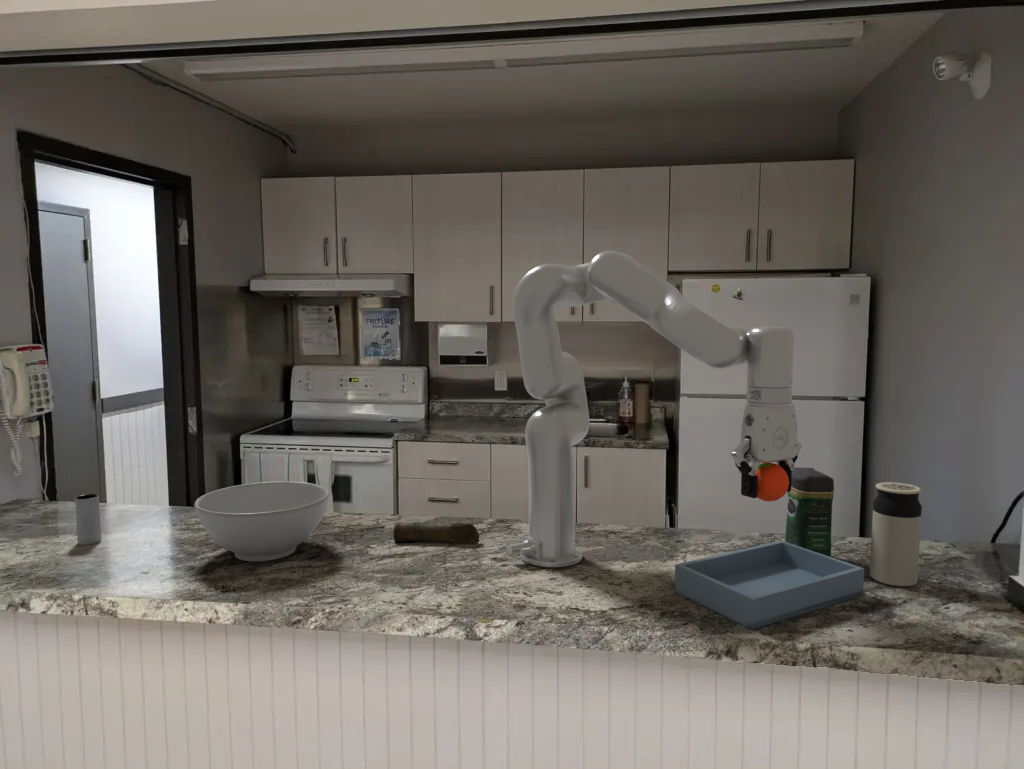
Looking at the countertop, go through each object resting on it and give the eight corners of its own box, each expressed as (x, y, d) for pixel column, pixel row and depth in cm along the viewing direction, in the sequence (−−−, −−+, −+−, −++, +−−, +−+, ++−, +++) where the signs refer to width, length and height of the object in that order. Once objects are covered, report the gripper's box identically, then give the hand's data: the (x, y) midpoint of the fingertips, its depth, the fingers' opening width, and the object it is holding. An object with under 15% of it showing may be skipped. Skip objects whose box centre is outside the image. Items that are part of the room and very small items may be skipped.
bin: (752, 629, 113) (753, 599, 112) (674, 591, 128) (675, 564, 128) (862, 595, 126) (864, 568, 126) (780, 564, 142) (781, 540, 141)
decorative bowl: (326, 527, 167) (325, 477, 166) (335, 565, 142) (333, 506, 140) (203, 539, 158) (201, 486, 157) (189, 581, 133) (186, 519, 132)
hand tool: (391, 544, 155) (391, 524, 155) (397, 538, 159) (397, 518, 159) (476, 548, 153) (476, 528, 152) (479, 542, 157) (479, 522, 156)
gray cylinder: (105, 540, 157) (102, 495, 156) (84, 546, 154) (81, 500, 152) (94, 537, 160) (92, 492, 159) (73, 542, 156) (70, 497, 155)
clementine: (765, 509, 122) (767, 468, 121) (734, 499, 128) (736, 460, 127) (796, 502, 126) (798, 463, 125) (765, 493, 132) (767, 456, 131)
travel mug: (922, 589, 129) (927, 493, 127) (874, 585, 131) (878, 490, 129) (911, 574, 136) (916, 483, 135) (866, 570, 139) (870, 480, 137)
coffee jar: (836, 566, 141) (841, 475, 139) (797, 566, 141) (800, 475, 139) (816, 550, 150) (820, 464, 149) (779, 550, 151) (782, 464, 149)
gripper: (751, 401, 117) (748, 504, 119) (819, 395, 126) (816, 491, 127) (717, 397, 124) (715, 495, 125) (784, 391, 132) (782, 483, 134)
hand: (766, 492), depth 126 cm, fingers closed on clementine, 8 cm apart
